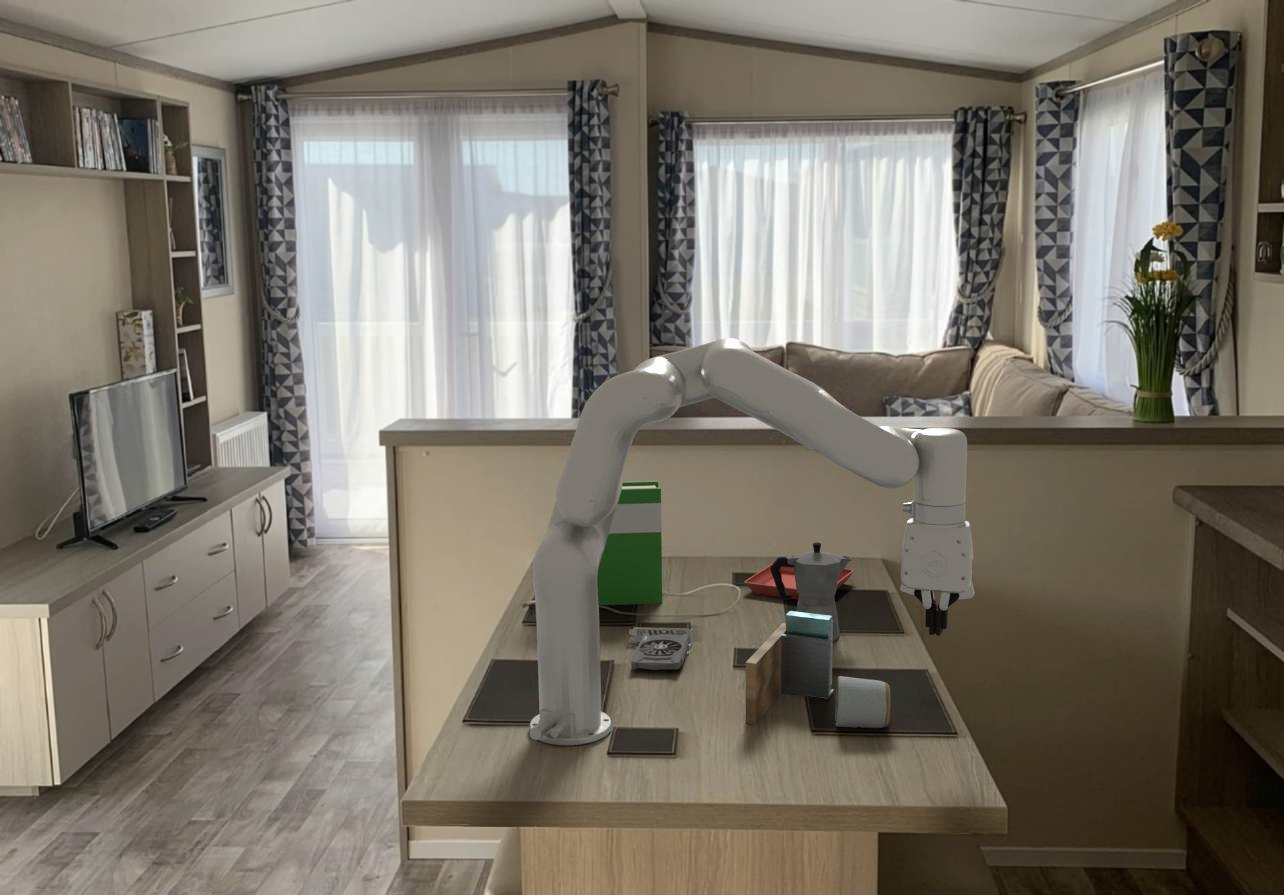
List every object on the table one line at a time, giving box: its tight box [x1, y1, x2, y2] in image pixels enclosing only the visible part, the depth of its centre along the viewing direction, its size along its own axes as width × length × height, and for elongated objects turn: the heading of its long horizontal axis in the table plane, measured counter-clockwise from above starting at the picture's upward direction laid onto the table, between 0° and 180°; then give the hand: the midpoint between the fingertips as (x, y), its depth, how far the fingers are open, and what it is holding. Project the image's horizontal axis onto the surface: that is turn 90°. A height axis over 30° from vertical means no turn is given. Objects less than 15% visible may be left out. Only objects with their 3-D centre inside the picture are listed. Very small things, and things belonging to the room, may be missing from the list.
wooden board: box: [745, 622, 786, 726], centre depth 201 cm, size 20×2×10 cm, turn 157°
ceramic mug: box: [834, 675, 891, 729], centre depth 193 cm, size 11×8×8 cm
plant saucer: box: [743, 562, 855, 601], centre depth 262 cm, size 18×18×3 cm
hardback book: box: [597, 480, 663, 606], centre depth 254 cm, size 18×7×24 cm, turn 94°
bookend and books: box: [781, 610, 835, 699], centre depth 205 cm, size 6×8×13 cm
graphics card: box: [628, 627, 694, 671], centre depth 222 cm, size 17×4×12 cm
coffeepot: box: [770, 542, 852, 642], centre depth 231 cm, size 15×9×18 cm, turn 99°
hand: (936, 632), depth 185 cm, fingers closed
